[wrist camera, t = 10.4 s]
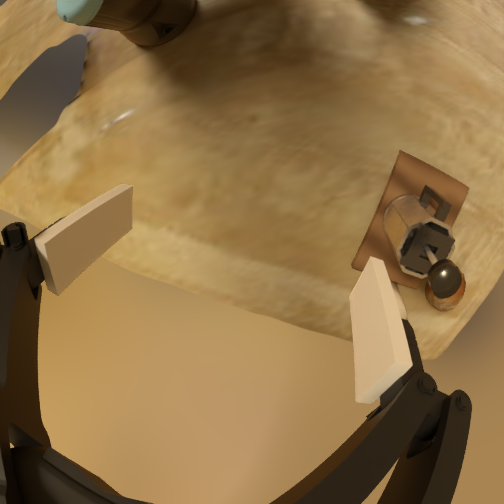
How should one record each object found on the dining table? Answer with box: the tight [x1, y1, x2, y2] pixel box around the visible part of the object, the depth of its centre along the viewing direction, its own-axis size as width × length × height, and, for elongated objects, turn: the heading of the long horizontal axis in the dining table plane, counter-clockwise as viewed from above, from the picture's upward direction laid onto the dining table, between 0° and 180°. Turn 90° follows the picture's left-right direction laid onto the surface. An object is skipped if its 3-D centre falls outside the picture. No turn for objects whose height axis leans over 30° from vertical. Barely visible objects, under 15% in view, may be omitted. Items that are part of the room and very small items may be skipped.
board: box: [351, 150, 469, 289], centre depth 44 cm, size 24×16×1 cm, turn 167°
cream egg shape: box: [390, 281, 407, 320], centre depth 50 cm, size 9×8×9 cm
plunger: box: [404, 222, 462, 299], centre depth 34 cm, size 7×7×18 cm
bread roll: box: [425, 266, 466, 311], centre depth 47 cm, size 10×10×8 cm
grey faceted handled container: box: [382, 185, 455, 279], centre depth 37 cm, size 13×10×12 cm
